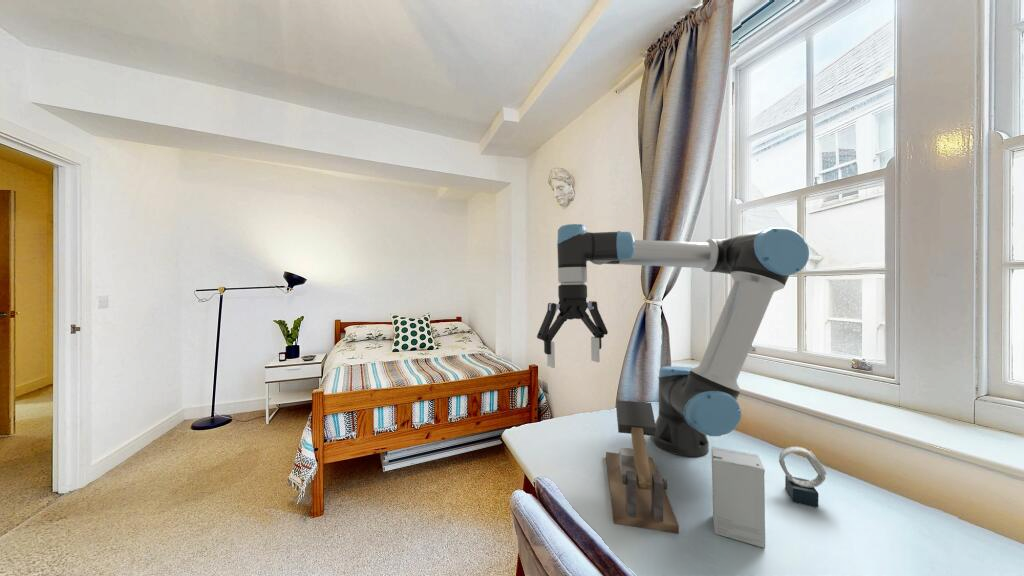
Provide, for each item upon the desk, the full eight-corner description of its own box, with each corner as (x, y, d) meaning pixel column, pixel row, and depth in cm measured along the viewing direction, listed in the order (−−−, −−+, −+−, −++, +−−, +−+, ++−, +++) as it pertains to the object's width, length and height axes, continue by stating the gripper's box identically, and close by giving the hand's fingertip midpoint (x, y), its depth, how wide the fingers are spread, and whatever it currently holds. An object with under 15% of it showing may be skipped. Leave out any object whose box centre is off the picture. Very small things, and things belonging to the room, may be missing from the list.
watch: (830, 510, 70) (831, 459, 70) (782, 499, 74) (783, 450, 74) (819, 495, 76) (820, 447, 75) (775, 486, 79) (776, 440, 79)
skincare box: (760, 529, 65) (761, 454, 65) (766, 551, 60) (767, 469, 59) (710, 515, 69) (711, 444, 69) (711, 534, 64) (712, 457, 63)
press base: (652, 462, 89) (652, 429, 89) (678, 533, 64) (679, 487, 64) (605, 457, 92) (606, 424, 92) (613, 523, 66) (614, 478, 66)
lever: (649, 411, 83) (651, 403, 81) (665, 494, 66) (667, 486, 64) (616, 408, 84) (616, 400, 83) (623, 489, 68) (624, 480, 66)
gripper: (603, 283, 96) (604, 356, 96) (523, 284, 87) (525, 365, 87) (620, 283, 89) (621, 362, 89) (535, 284, 80) (537, 372, 80)
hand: (573, 364), depth 88 cm, fingers open, 13 cm apart
